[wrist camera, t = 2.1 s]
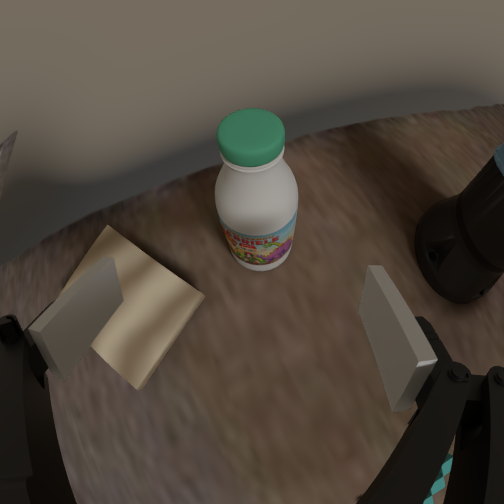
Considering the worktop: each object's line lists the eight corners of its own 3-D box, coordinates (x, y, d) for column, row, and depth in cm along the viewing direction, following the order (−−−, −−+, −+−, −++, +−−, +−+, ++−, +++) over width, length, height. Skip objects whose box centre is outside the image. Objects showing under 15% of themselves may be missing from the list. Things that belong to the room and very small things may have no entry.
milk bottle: (231, 216, 38) (200, 96, 19) (290, 215, 38) (303, 93, 19) (228, 272, 35) (184, 175, 17) (292, 272, 35) (314, 173, 16)
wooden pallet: (210, 301, 34) (202, 293, 30) (152, 386, 31) (136, 389, 26) (122, 238, 38) (107, 224, 34) (73, 311, 35) (53, 304, 30)
